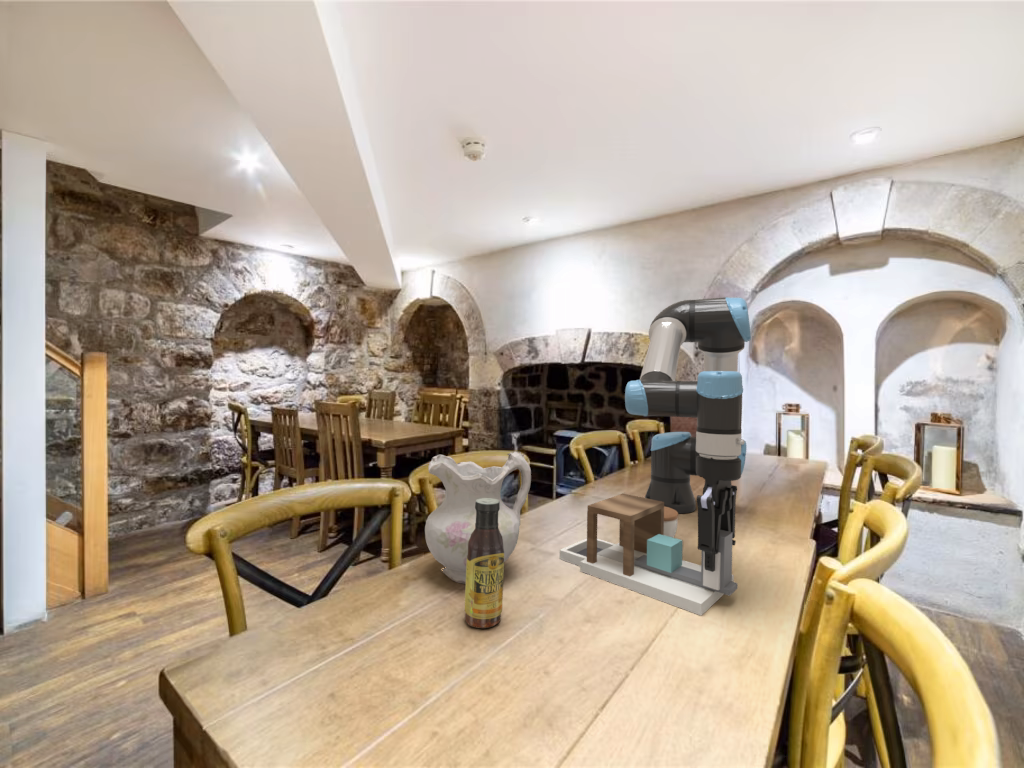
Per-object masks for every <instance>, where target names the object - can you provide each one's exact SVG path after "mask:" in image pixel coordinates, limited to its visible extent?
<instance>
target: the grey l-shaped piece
mask: <svg viewBox="0 0 1024 768" xmlns="http://www.w3.org/2000/svg"><path fill="white" fill-rule="evenodd" d="M732 534H733V532H729V531H724V530H720V536H719V548H718V552H720V553H721V556H720V589H719V590H716V589H713V588H709V587H706V586H703V551H702V550H701V555H700V556H701V557H700V558H701V560H700V565H701V572H700V571H696V570H693V569H690V568H686V567H683V566H680V567H679V568H677V569H676V570H674V571H673V572H672V573H670V572H667V571H664V570H660V569H657V568H654V567H651V566H648V565H647V555H642V556H641V557H639V558H637V559H635V560H634V565H636V566H639V567H642V568H645V569H648V570H651V571H654V572H657V573H660V574H664V575H667V576H670V577H673V578H676V579H679V580H682V581H685V582H688V583H691V584H694V585H698V586H701V587H704V588H707V589H710V590H713V591H716V592H719V593H722V594H724V595H725V596H729V597H730V596H731V595H732V594H734V593H735V591H737V589H738V588H739V586H738V585H739V584H738V583H737V582H736V581H734V582H733V581H732V575H733V545H732V540H733V538H732Z"/></svg>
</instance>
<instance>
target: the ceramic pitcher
mask: <svg viewBox="0 0 1024 768" xmlns="http://www.w3.org/2000/svg"><path fill="white" fill-rule="evenodd" d="M506 455H507V456H508V458H507V460H506V462H505V463H504V465H502V467H501V466H495V465H494V466H490V467H484V468H483V467H482V466H480V465H479V464H477V463H476V462H474V461H461V462H458V463H457V462H456V460H455V459H454V458H453V457H451V456H448V455H447V456H446V455H444V454H437V455H435V456H433V457H432V458H431V461H429V463H428V466H427V467H428V469H427V470H428V473H429V474H431V475H433V476H435V477H437V478H438V479H439V480H440V481H441V482H442V484H443V486H444V488H445V496H444V500H443V501H442V503H441V504H440V505H439V506H438V507H436V508H435V509H434V510H433V511H432V512H431V513H430V514H429V515H428V516H427V518H426V521H425V526H424V538H425V542H426V546H427V547H428V550H429V552H430V553H431V555H432V556H433V559H435V560H436V561H437V562H438V563H439V564H441V565H442V566H443V567H446V568H444V569H442V570H443V572H442V573H443V574H444V575H445V576H446V577H448V579H451V580H452V581H453V582H456V583H459V584H464V585H466V563H467V555H468V542H469V539H470V537H471V534H472V532H473V531H474V530H475V523H476V509H475V503H476V500H477V499H481V498H493V499H497V500H499V502H500V509H499V511H498V528H499V531H500V533H501V535H502V538H503V547H504V563H505V562H506V561H507V560H508V559H509V557H510V556H511V555H512V553H513V552H514V551H515V548H516V547H517V544H518V540H519V535H520V526H521V510H522V508H523V506H525V503H526V501H527V498H528V494H529V491H530V488H531V483H532V482H531V481H532V475H531V474H532V470H531V467H530V466H531V465H530V463H528V461H527V460H526V459H525V454H522V452H521V451H518V450H516V451H510V452H509V453H507V454H506ZM516 470H519V472H520V480H521V484H520V488H519V490H518V492H517V495H516V497H515V501H514V504H513V507H512V508H510V507H508V506H507V505H506V504H505V503H504V502H503V500H502V497H501V489H502V487H503V481H504V480H505V478H506V477H507V476H508V475H509V474H510V473H512V472H513V471H516Z"/></svg>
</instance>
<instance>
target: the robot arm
mask: <svg viewBox="0 0 1024 768" xmlns="http://www.w3.org/2000/svg"><path fill="white" fill-rule="evenodd" d="M748 308H749V307H748V304H747V300H746V299H744V298H743V297H728V296H726V297H725V296H724V297H714V298H713V297H712V298H702V299H701V298H700V299H698V298H697V299H684V300H680V301H677V302H674V303H672V304H670V305H668V306H667V307H666V308H664V309H662V310H661V311H660V312H659V313H658V314H656V316H655V317H654V319H653V320H652V322H651V324H650V326H649V329H648V338H649V339H648V340H649V345H648V349H647V351H646V352H647V353H646V355H645V359H644V363H643V367H642V369H641V373H640V376H639V379H636V380H630V381H628V382H627V384H626V386H625V389H624V392H625V393H624V402H625V403H624V405H625V409H626V412H627V413H628V414H630V415H635V416H643V417H675V418H677V417H678V418H694V419H696V432H695V437H694V436H692V434H691V432H689V431H670V432H662V433H657V434H655V435H654V436H652V439H651V445H650V451H651V452H650V453H651V454H650V481H649V485H648V487H647V489H646V493H645V496H644V498H647V499H652V500H657V501H662V502H664V506H665V507H669V508H672V509H674V510H676V511H677V512H678V514H688V513H693V512H695V511H696V509H697V549H698V550H700V551H701V552H702V551H703V586H706V587H709V588H713V589H716V590H719V589H720V556H721V553H720V552H718V548H719V536H720V530H724V531H729V532H733V534H732V546H735V545H736V543H737V541H736V540H734V538H735V537H736V534H735V533H736V506H737V505H736V503H737V500H736V499H737V494H738V486H737V485H732V481H733V482H735V481H738V480H740V479H741V477H742V475H743V473H744V468H745V463H746V458H747V457H746V455H747V441H746V440H744V439H742V432H743V431H742V421H743V420H742V418H743V393H744V386H743V375H742V373H741V372H739V371H738V364H739V363H738V362H739V353H741V352H742V351H743V350H744V349H745V345H746V343H748V342H751V340H752V337H751V336H752V335H751V324H750V323H751V322H750V317H749V316H750V315H749V309H748ZM684 343H697V349H698V351H700V352H701V353H703V371H700V372H699V373H698V375H697V380H694V381H693V380H690V381H688V380H676V377H677V374H678V373H677V371H678V365H679V358H680V351H681V346H682V345H683V344H684ZM691 476H698V477H699V478H703V479H704V486H703V489H702V495H699V494H698V495H697V496H696V498H695V495H694V492H693V490H692V486H691ZM696 506H697V507H696Z"/></svg>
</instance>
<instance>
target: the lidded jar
mask: <svg viewBox="0 0 1024 768" xmlns="http://www.w3.org/2000/svg"><path fill="white" fill-rule="evenodd" d="M678 519H679V513H678V512H677V511H676V510H674V509H672V508H669V507H665V506H664V535H665V536H669V537H672V538H675V535H676V533H677V530H678Z"/></svg>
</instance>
